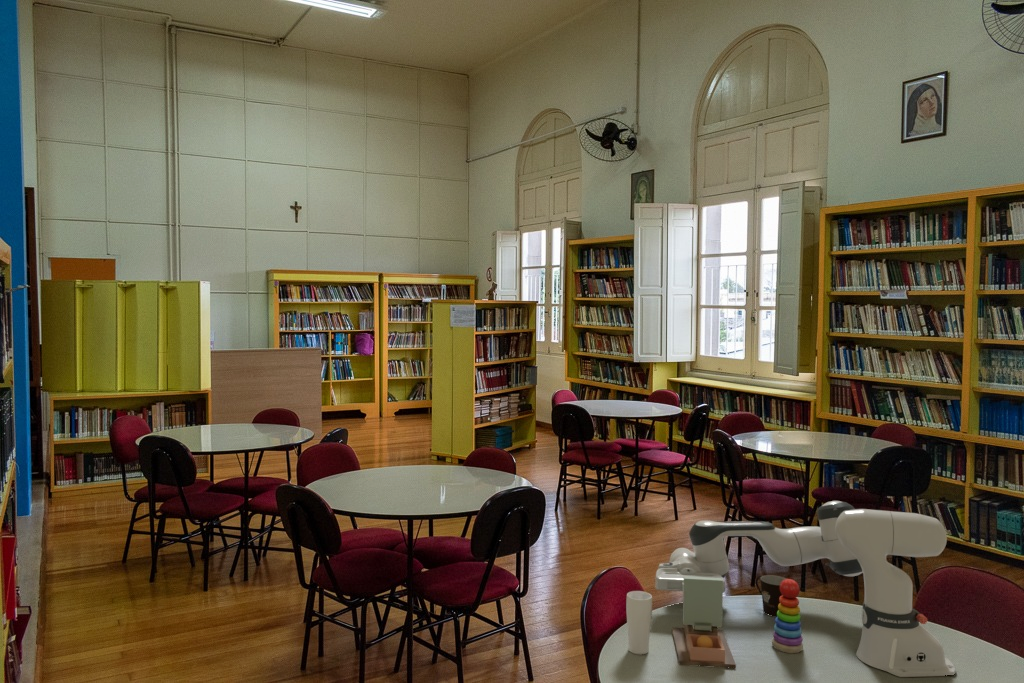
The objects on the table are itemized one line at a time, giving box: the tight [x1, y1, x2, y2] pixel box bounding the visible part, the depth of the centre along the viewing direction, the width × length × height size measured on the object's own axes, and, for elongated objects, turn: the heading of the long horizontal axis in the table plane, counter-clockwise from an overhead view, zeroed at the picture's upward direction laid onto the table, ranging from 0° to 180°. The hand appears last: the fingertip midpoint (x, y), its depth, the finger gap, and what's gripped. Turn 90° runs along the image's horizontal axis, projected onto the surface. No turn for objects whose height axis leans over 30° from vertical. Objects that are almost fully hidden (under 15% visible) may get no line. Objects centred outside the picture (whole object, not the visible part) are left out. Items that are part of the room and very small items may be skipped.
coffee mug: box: [755, 574, 788, 617], centre depth 224 cm, size 12×9×10 cm
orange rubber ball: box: [697, 635, 713, 648], centre depth 193 cm, size 4×4×4 cm
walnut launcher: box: [671, 624, 737, 669], centre depth 197 cm, size 14×21×6 cm, turn 173°
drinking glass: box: [625, 590, 653, 656], centre depth 195 cm, size 7×7×15 cm
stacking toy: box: [771, 578, 804, 654], centre depth 198 cm, size 8×8×19 cm
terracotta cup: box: [686, 634, 725, 664], centre depth 191 cm, size 9×9×4 cm
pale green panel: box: [682, 576, 724, 631], centre depth 197 cm, size 10×2×14 cm, turn 83°
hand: (692, 592), depth 211 cm, fingers closed
